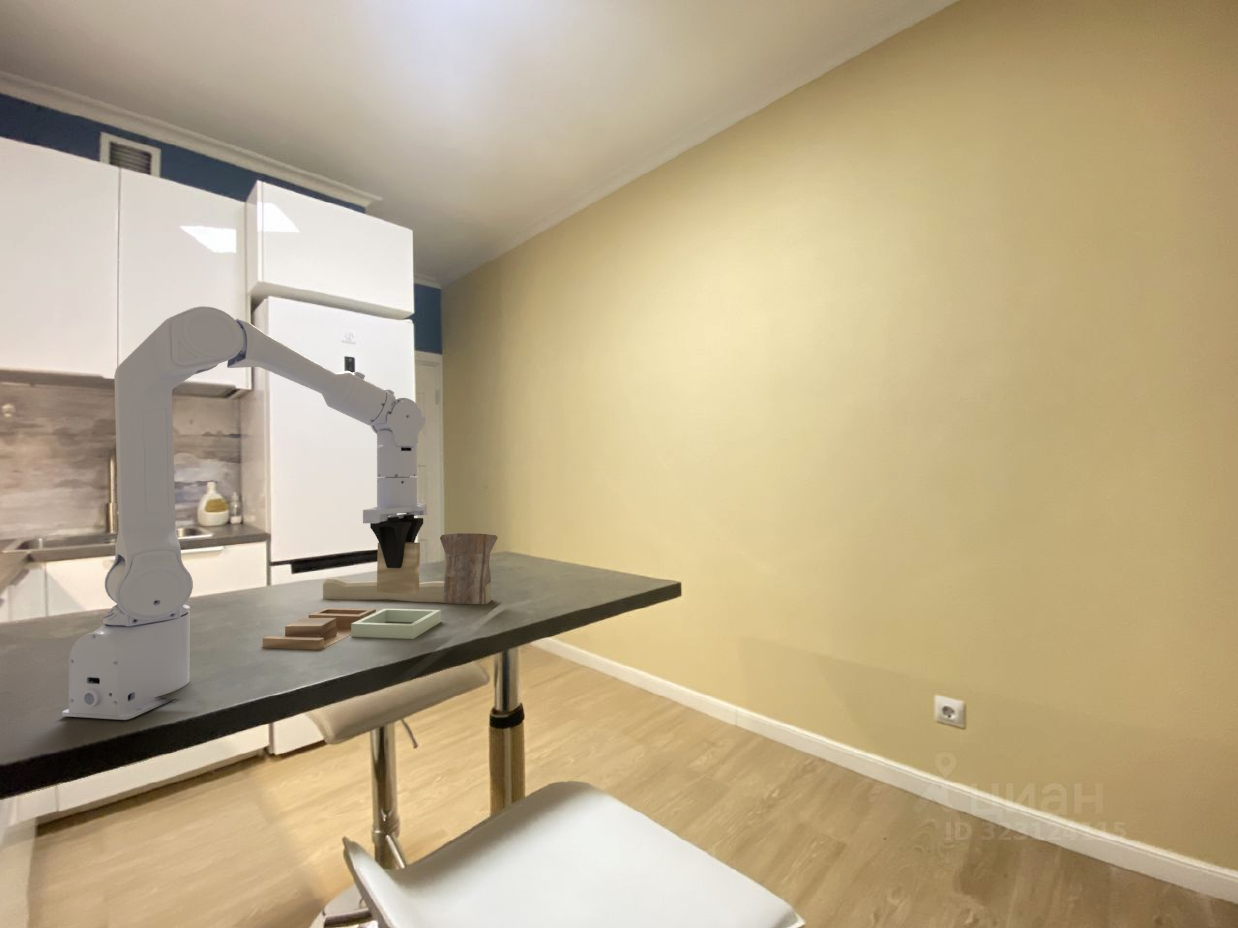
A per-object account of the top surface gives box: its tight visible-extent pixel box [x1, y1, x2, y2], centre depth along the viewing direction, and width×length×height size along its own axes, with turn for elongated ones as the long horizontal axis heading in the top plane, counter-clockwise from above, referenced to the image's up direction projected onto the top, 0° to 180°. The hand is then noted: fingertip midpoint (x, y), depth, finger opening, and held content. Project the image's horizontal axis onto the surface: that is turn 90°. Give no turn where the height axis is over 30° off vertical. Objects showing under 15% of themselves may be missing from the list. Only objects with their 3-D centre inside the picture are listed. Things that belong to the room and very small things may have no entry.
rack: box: [261, 607, 377, 650], centre depth 79 cm, size 14×9×3 cm, turn 173°
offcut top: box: [284, 617, 336, 636], centre depth 76 cm, size 4×5×1 cm
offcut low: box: [284, 627, 337, 641], centre depth 76 cm, size 4×5×1 cm
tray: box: [350, 608, 442, 640], centre depth 81 cm, size 9×10×3 cm
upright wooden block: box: [376, 542, 421, 594], centre depth 81 cm, size 2×6×8 cm, turn 82°
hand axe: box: [322, 532, 499, 605], centre depth 99 cm, size 35×3×14 cm, turn 81°
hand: (397, 566), depth 81 cm, fingers closed on upright wooden block, 1 cm apart
